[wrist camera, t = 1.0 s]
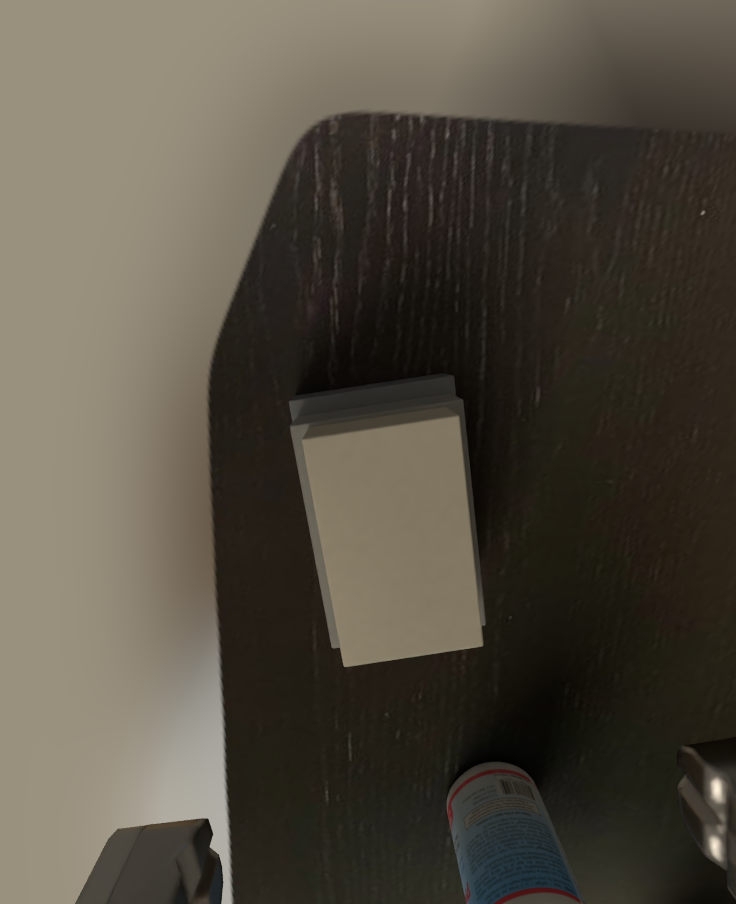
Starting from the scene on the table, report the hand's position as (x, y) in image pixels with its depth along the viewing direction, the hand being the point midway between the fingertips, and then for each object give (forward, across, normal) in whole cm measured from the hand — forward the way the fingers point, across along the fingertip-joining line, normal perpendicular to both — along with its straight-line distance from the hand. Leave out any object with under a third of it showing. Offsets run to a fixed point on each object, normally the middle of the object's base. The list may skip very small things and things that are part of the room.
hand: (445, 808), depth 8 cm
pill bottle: (+19, -4, +22) cm, 29 cm away
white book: (+13, 0, 0) cm, 13 cm away
